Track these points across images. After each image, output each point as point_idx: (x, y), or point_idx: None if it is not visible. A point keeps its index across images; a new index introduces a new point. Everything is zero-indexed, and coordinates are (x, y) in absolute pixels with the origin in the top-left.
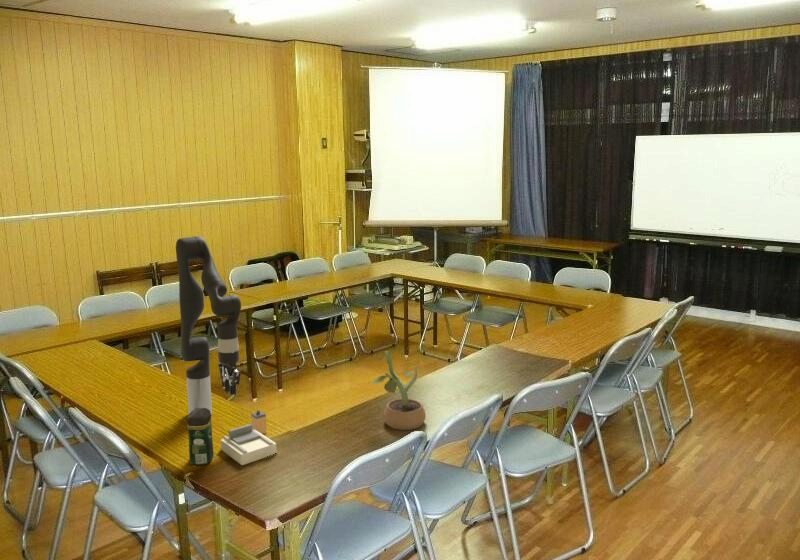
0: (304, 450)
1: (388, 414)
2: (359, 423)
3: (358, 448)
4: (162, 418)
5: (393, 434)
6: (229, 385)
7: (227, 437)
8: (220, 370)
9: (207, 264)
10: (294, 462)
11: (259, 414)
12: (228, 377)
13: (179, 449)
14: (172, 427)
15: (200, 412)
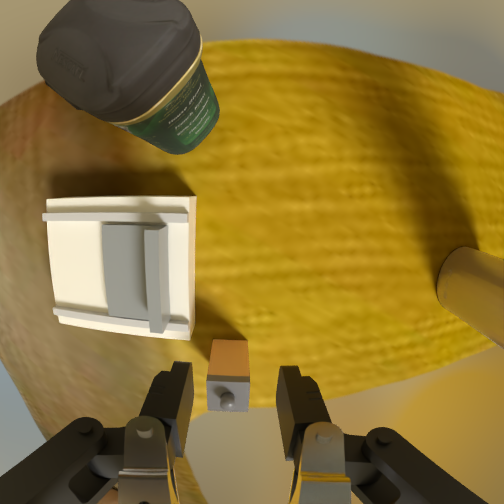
0: (65, 362)
1: None
2: None
3: (43, 417)
4: (497, 191)
5: None
6: (283, 426)
7: (169, 220)
8: (432, 496)
9: None
10: (25, 308)
11: (218, 396)
12: (120, 493)
13: (300, 94)
14: (450, 174)
15: (72, 32)
